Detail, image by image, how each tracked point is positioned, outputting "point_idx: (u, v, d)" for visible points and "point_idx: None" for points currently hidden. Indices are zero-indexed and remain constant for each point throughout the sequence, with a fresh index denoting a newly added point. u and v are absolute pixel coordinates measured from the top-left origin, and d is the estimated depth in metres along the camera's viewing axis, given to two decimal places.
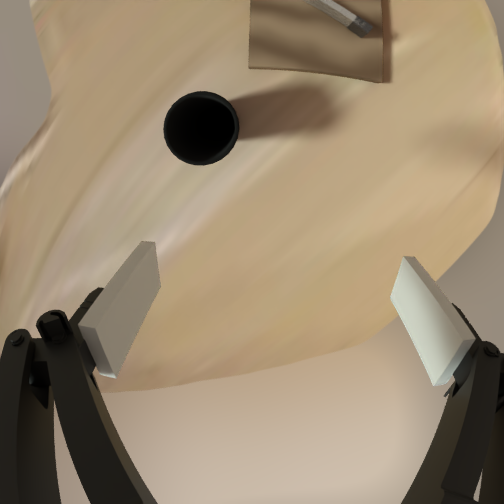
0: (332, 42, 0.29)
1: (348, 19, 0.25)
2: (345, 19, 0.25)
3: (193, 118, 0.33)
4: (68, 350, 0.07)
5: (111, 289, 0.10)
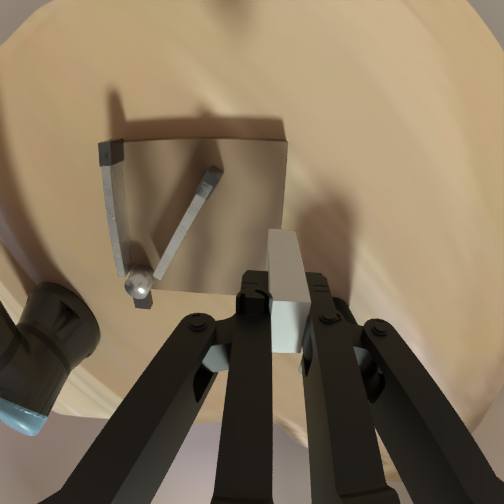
0: (238, 209, 0.30)
1: None
2: None
3: None
4: (261, 331, 0.09)
5: (278, 269, 0.12)
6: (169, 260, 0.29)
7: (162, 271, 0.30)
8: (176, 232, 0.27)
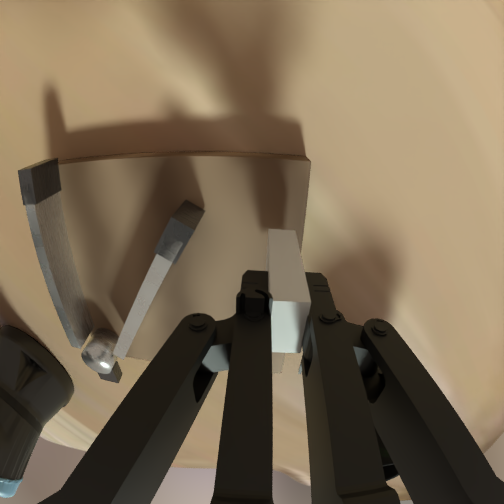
0: (229, 267, 0.19)
1: None
2: None
3: None
4: (261, 331, 0.09)
5: (278, 269, 0.12)
6: (131, 339, 0.19)
7: (124, 350, 0.19)
8: (134, 306, 0.17)
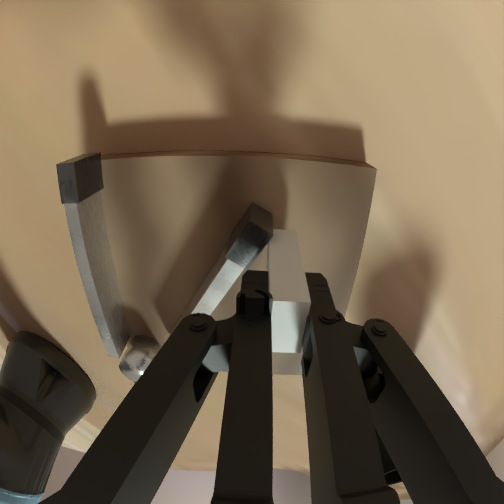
0: None
1: None
2: None
3: None
4: (261, 331, 0.09)
5: (278, 269, 0.12)
6: None
7: None
8: None
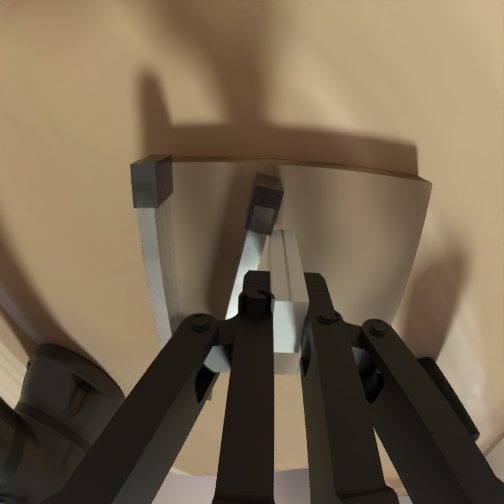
0: (355, 275, 0.19)
1: None
2: None
3: None
4: (263, 331, 0.09)
5: (279, 269, 0.12)
6: None
7: None
8: (232, 299, 0.17)
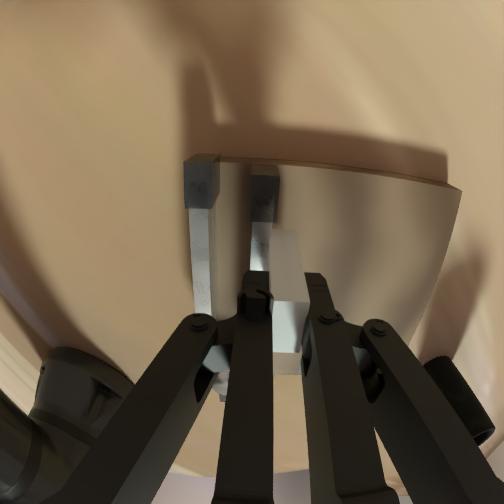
0: (390, 277, 0.19)
1: (271, 230, 0.15)
2: None
3: None
4: (262, 331, 0.09)
5: (278, 269, 0.12)
6: None
7: None
8: None
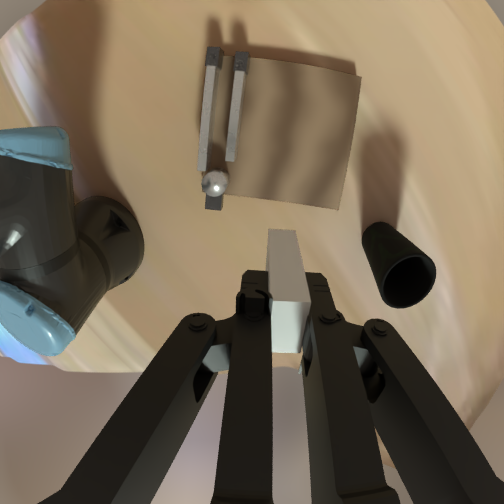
0: (318, 122, 0.32)
1: (243, 76, 0.27)
2: (244, 79, 0.28)
3: None
4: (261, 331, 0.09)
5: (277, 269, 0.12)
6: (235, 136, 0.30)
7: (232, 151, 0.31)
8: (231, 108, 0.29)
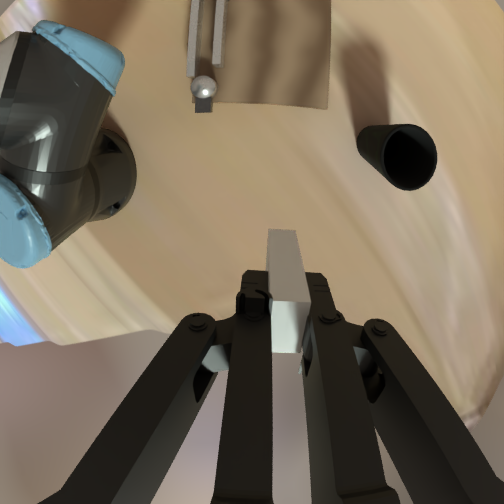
0: (296, 32, 0.29)
1: None
2: (225, 0, 0.25)
3: None
4: (261, 331, 0.09)
5: (277, 269, 0.12)
6: (220, 43, 0.28)
7: (218, 55, 0.28)
8: (215, 21, 0.26)
